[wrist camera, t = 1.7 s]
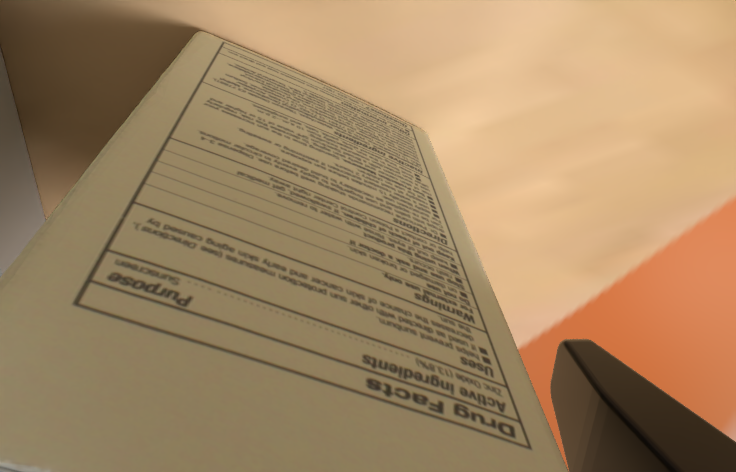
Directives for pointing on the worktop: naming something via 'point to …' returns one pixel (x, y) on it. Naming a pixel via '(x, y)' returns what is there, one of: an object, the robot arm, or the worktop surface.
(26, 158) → the holder
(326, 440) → the skincare box
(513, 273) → the worktop surface
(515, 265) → the worktop surface
